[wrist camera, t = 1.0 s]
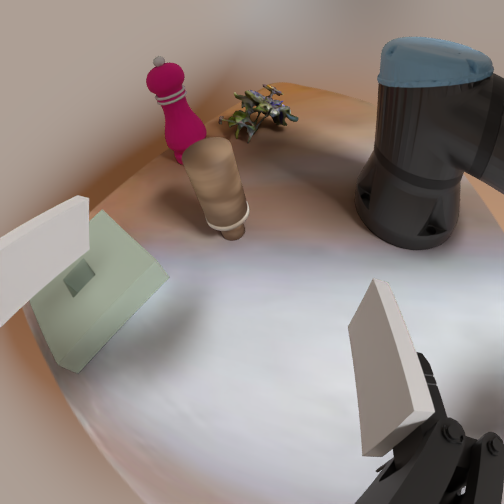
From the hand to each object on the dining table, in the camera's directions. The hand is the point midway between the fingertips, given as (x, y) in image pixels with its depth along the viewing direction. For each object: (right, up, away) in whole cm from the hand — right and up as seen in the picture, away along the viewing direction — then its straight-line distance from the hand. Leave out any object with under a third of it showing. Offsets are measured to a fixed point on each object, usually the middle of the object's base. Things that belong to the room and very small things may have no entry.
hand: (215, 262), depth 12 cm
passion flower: (+3, +22, +39) cm, 45 cm away
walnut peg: (-1, +3, +26) cm, 27 cm away
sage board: (-21, -5, +25) cm, 33 cm away
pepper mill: (-9, +18, +39) cm, 44 cm away
